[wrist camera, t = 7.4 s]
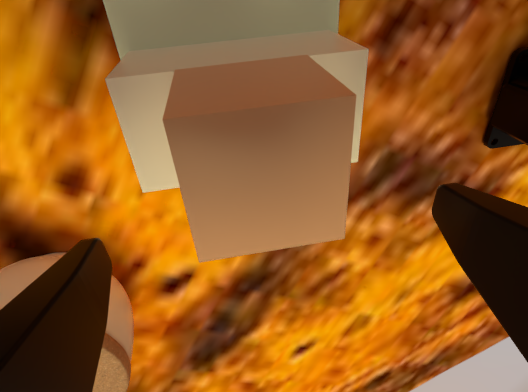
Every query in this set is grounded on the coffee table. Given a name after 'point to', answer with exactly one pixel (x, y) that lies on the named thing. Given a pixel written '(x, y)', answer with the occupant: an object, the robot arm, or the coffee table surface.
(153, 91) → the bottom brick
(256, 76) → the top brick
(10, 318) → the robot arm
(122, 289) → the lidded jar
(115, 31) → the baseplate
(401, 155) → the coffee table surface
